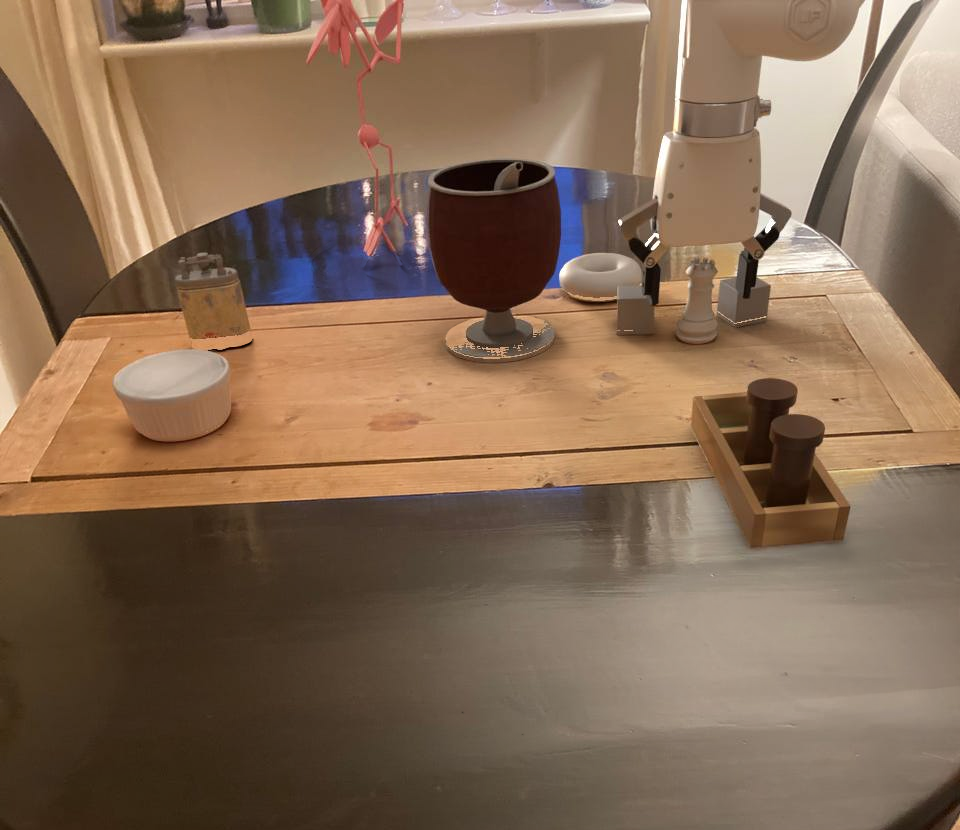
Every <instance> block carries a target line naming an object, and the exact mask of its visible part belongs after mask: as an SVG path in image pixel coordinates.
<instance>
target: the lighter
mask: <svg viewBox="0 0 960 830" xmlns="http://www.w3.org/2000/svg"><path fill="white" fill-rule="evenodd" d="M210 264H215V265H216V268H210V267H209V266H210ZM177 265H178V269H179V270H180V274H178V275H176V276H175V278H174V282H175V285H176V292H177V295H178V299H179V303H180V308H181V311H182V315H183V318H184V322H185V325H186V329H187V334H188V338H189V339H190V338H192V339H206V338H218V337H226V336H235V335H237V336H238V335H242V334H244V333H246V332H248V330H249V329H251V325H250V321H249V316H248V311H247V308H246V302H245V298H244V294H243V289H242V285H241V280H240V279H239V274H238V270H237V269H235V268H233V267H224V260H223V257H222V255H221V254H220V253H219V254H218V253H216V254H208V252H199V253H197V254H196V256H191V257H187V258H186V257H184V256H182V257H180V258H179V259H178V261H177ZM191 265H193V266H194V265H198V266H199V267H201V270H195V271H193V270H192V271H190V270H189V266H191Z"/></svg>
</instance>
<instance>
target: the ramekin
mask: <svg viewBox="0 0 960 830" xmlns="http://www.w3.org/2000/svg"><path fill="white" fill-rule="evenodd" d="M231 371H232V370H231V367H230V364H229V361H228V360H227V358H225V357H224V356H222V355H221V354H219V353H216V352H214V351H212V350H211V351H206V350H195V349H192V348H189V349H188V348H187V349H175V350H168V351H163V352H159V353H154V354H151V355H147V356H145V357H141V358H139V359H137V360H135V361H133V362H131V363H129V364H127V365H126V366H124V367H122V368H121V369H120V370H119V371H118V372H117V373H116V374H115V375H114V377H113V379H112V387H113V391H114V394H115V396H116V397H117V399H118V400H120V402H121V403H122V405H123V408H124V410H125V412H126V414H127V416H128V418H129V419H130V421H131V423H132V426H133V427H134V428H135V430H136V431H137V432H138V433H139V434H141V435H143V436H144V437H146V438H147V439H150V440H152V441H156V442H166V443H170V442H171V443H175V442H184V441H189V440H194V439H198V438H200V437H204V436H206V435H209V434H211V433H213V432H215V431H216V430H218V429H220V428H221V427H222V426H223V425H224V424H225V423H226V422H227V420H228V419H229V417H230V415H231V411H232V393H231V392H232V391H231V379H230V378H231V375H232V374H231V373H232V372H231ZM221 423H222V424H221ZM218 425H219V426H218ZM215 427H216V428H215ZM211 429H212V430H211ZM207 431H208V432H207Z"/></svg>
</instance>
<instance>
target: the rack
mask: <svg viewBox="0 0 960 830" xmlns="http://www.w3.org/2000/svg"><path fill="white" fill-rule="evenodd" d="M746 395H747V391H740V392H728V393H717V394H705V395H694V396H692V397H693V398H692V407H691V419H690V429H691V431H692V433H693V436H694V438H695V439H696V441H697V444H698V445H699V446H698V447H699V448H700V450H701V451H702V454H703V455H704V457H705V460H706V461H707V464H708V466H709V468H710V471H711V472H712V474H713V476H714V478H715V480H716V482H717V484H718V487H719V488H720V490H721V492H722V494H723V496H724V498H725V500H726V503H727V505H728V507H729V508H730V510H731V512H732V514H733V516H734V519H735V521H736V523H737V525H738V527H739V529H740V531H741V533H742V535H743V537H744V539H745V541H746V543H747V545H748V548H749V549H758V548H761V549H762V548H774V547H782V546H783V547H785V546H793V545H794V546H795V545H806V544H818V543H831V542H840V541H841V542H843V541H844V538H845V534H846V529H847V525H848V520H849V516H850V512H851V504H850V503H849V501H848V500H847V498H846V496H845V495H844V494H843V493H842V491H841V489H840V488H839V487H838V485H837V483H836V482H835V481H834V479H833V478H832V476H831V475H830V473H829V472H828V471H827V469H826V467H825V466H824V465H823V462H822V461H821V460H820V459H819V457H818V455H817V454H816V453H815V455H814V461H813V466H812V472H811V477H810V483H809V488H808V494H807V500H806V504H804V505H792V506H781V507H769V508H762V506H761V504H762V503H763V502H765V499H766V493H767V486H768V479H769V472H770V466H771V463H767V464H756V465H744V466H739V465H740V464H742V463H743V459H744V452H745V444H746V436H747V428H748V420H749V413H750V404H748V402H747V401H746Z"/></svg>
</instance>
